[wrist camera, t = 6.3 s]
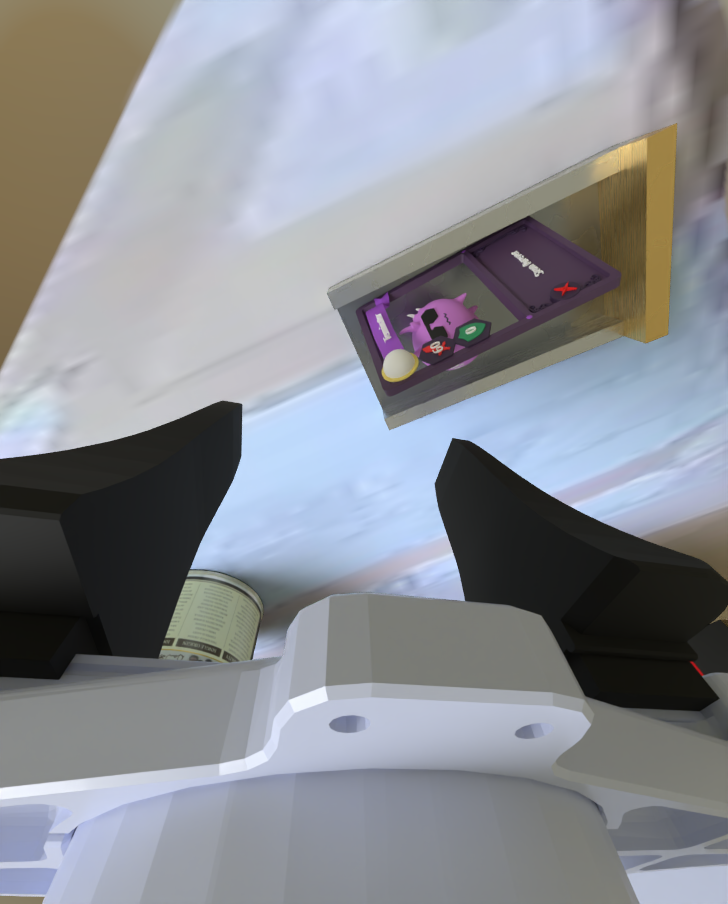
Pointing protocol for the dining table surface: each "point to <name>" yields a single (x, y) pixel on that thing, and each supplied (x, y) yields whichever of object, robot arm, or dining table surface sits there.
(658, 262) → the drawer
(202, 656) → the coffee can
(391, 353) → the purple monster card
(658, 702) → the robot arm
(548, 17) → the dining table surface
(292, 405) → the dining table surface
